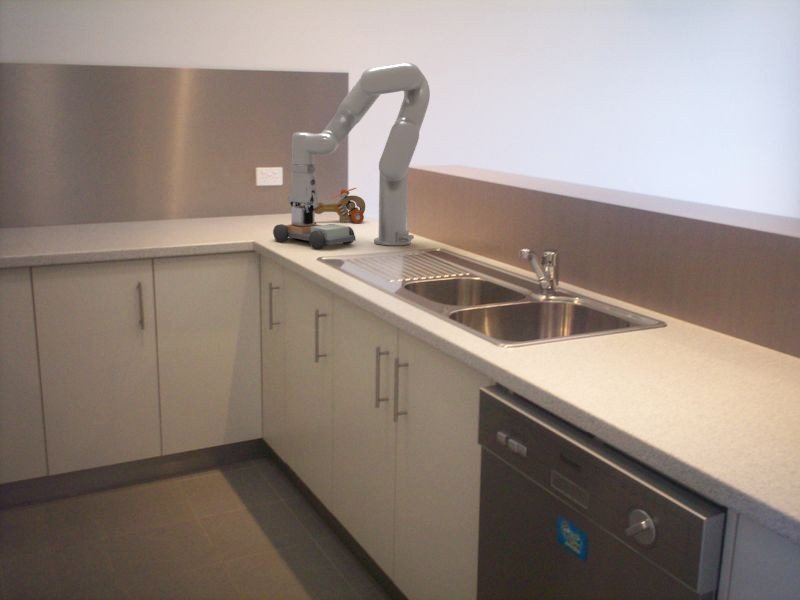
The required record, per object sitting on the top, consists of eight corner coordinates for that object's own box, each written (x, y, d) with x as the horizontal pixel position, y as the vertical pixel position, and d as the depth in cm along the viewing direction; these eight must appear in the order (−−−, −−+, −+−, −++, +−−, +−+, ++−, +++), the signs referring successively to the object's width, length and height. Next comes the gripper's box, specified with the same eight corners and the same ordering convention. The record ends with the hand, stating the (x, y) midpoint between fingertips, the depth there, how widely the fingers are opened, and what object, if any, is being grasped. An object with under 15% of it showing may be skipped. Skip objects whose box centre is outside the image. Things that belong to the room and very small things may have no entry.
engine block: (314, 224, 302) (314, 205, 301) (301, 226, 298) (301, 206, 296) (304, 222, 306) (304, 204, 304) (291, 224, 301) (291, 205, 300)
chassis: (358, 245, 296) (358, 226, 295) (325, 251, 285) (325, 231, 284) (302, 235, 314) (302, 217, 313) (269, 240, 303) (269, 221, 302)
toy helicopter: (366, 223, 344) (366, 188, 341) (313, 224, 340) (313, 188, 337) (363, 220, 352) (363, 186, 349) (311, 221, 348) (311, 186, 345)
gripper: (328, 170, 295) (328, 224, 299) (294, 166, 306) (294, 218, 310) (312, 172, 289) (312, 227, 293) (278, 167, 300) (278, 220, 304)
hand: (303, 222), depth 302 cm, fingers closed on engine block, 5 cm apart
